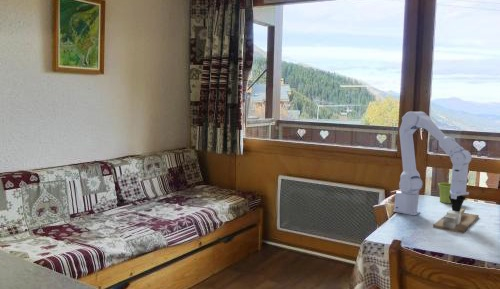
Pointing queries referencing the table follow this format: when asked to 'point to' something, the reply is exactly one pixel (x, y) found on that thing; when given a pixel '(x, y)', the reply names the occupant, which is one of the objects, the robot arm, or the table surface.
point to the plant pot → (444, 192)
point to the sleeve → (455, 215)
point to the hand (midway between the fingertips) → (455, 213)
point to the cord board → (461, 225)
